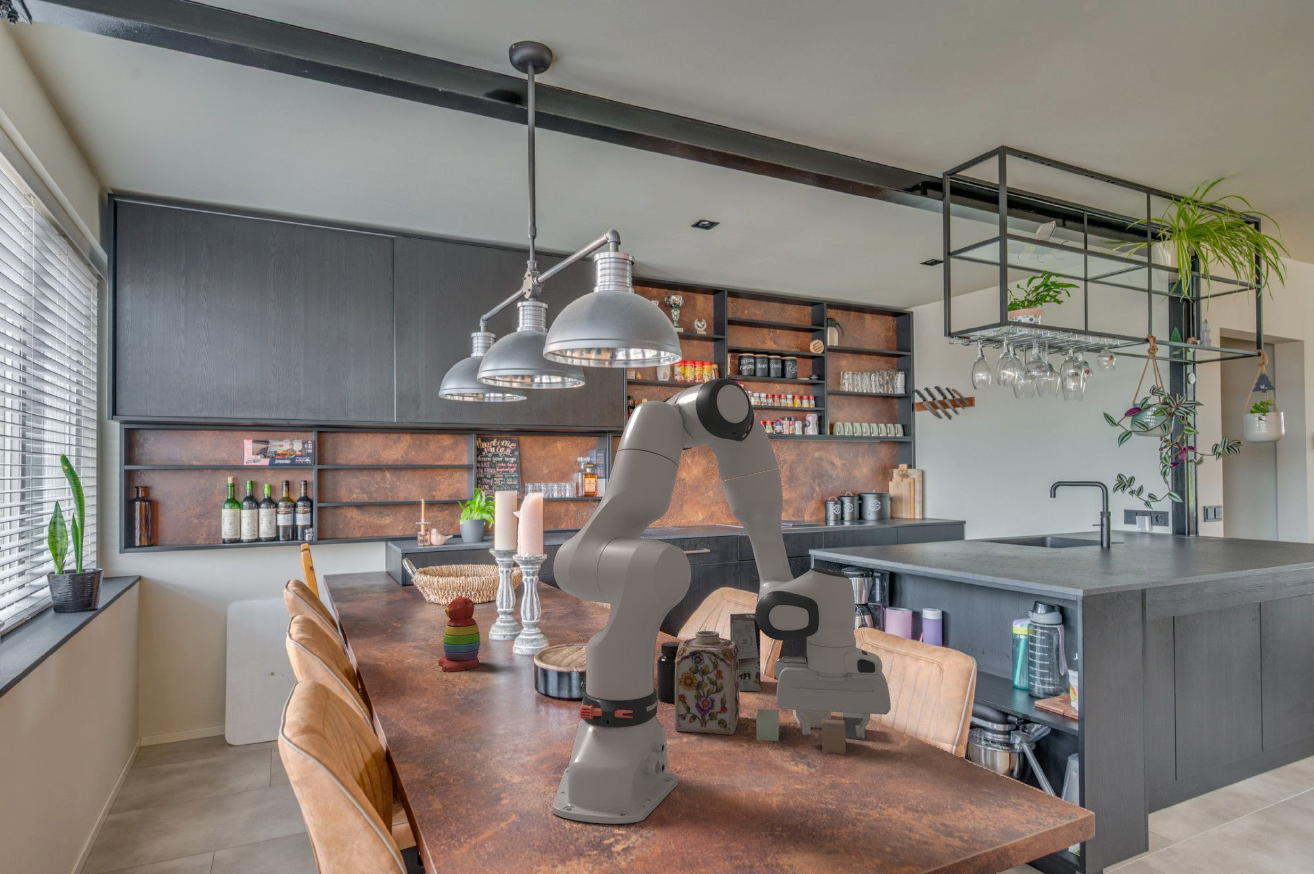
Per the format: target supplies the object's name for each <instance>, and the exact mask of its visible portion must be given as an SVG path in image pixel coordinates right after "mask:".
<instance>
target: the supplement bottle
mask: <svg viewBox="0 0 1314 874" xmlns="http://www.w3.org/2000/svg"><path fill="white" fill-rule="evenodd" d="M680 643H681V642H679V641H678V642H677V641H667V642H666V641H665V642H663V643H661V645H660V646H661V650H660V653H661V655H660V656H658V658H657V660H656V661H657V662H656V668H657V670H656V672H657V673H656V674H657V677H656V678H657V698H658V701H660V702H663V703H666V704H667V703H668V704H675V659H676V653H677V651H678V647H679V644H680Z"/></svg>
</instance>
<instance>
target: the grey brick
mask: <svg viewBox="0 0 1314 874" xmlns="http://www.w3.org/2000/svg"><path fill="white" fill-rule="evenodd" d="M842 720H844V724H845V739H849V740H850V739H852V740H862V741H863V740H864V741H865V740H867V739H866V728H865V729H864V738H856V732H855V731H856V729H855V725H860V724H861V722H862V720H863V719H862V713H846V712H842Z"/></svg>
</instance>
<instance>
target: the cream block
mask: <svg viewBox="0 0 1314 874" xmlns="http://www.w3.org/2000/svg"><path fill="white" fill-rule="evenodd" d="M792 716H793V717H794V719H795V721H796V722H797V724H798V726H799V728H802V725H801V723H800V722H799V720H798V718H797V716H796V710H792ZM831 716H832V713H831V712H828V711H810V710H804V715H803V718H804V719H805V721H806V722H809V723H810V728H822V719H828V720H832V717H831Z"/></svg>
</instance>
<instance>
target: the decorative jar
mask: <svg viewBox="0 0 1314 874" xmlns="http://www.w3.org/2000/svg"><path fill="white" fill-rule="evenodd" d="M679 643H680V644H679V647H678V651H677V653H676V659H675V703H674V730H675V731H676V732H686V733H699V734H716V735H727V736H729V735H730V736H732V735H734V734H735V732H736V729H737V724H738V722H739V718H740V708H741V707H740V704H741V703H740V700H741V699H740V691H739V656H738V655H739V654H738V653H739V651H738V648H737V645H736V643H735V642H732V641H730V639H727V638H723V637H720V632H719V631H717V630H716V631H715V630H701V631H697V632H696V633H695V637H693V638H688V639H684V640H683V639H682V641H680V642H679Z"/></svg>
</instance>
